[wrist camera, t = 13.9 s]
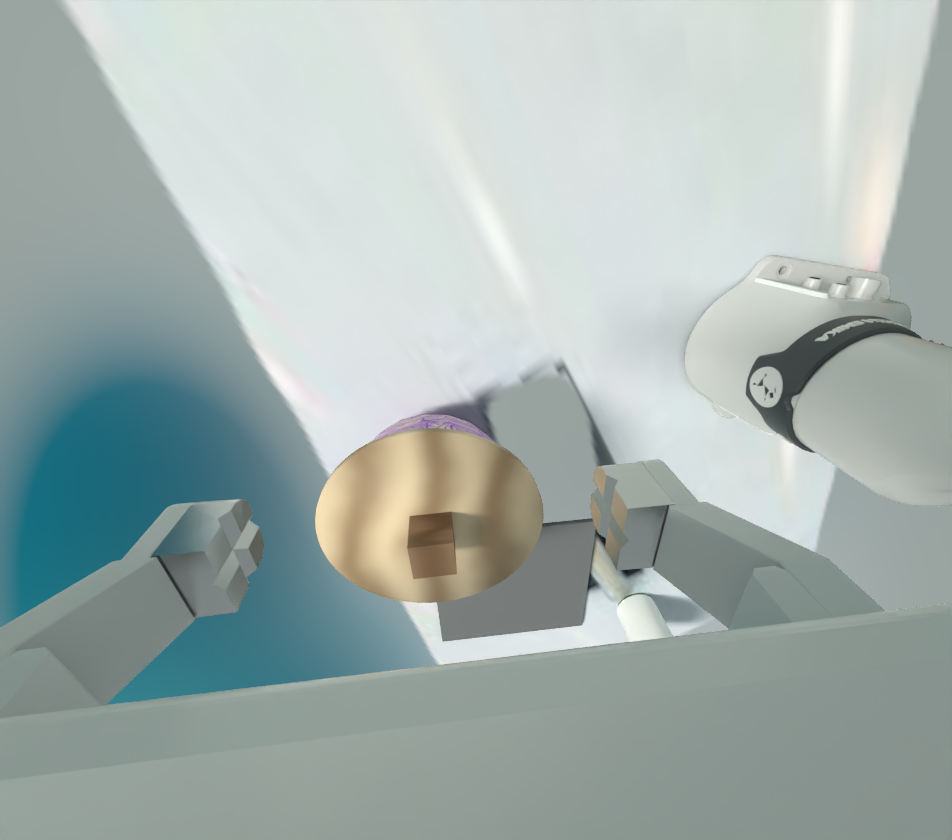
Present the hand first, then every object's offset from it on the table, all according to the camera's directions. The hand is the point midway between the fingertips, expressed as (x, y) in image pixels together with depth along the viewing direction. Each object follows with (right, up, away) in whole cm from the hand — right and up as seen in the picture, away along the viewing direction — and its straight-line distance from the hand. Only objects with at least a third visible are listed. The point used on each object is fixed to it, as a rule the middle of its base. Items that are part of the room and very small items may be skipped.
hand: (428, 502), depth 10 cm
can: (+28, -30, +59) cm, 72 cm away
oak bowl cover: (-3, -8, +30) cm, 32 cm away
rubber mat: (+7, -24, +53) cm, 59 cm away
